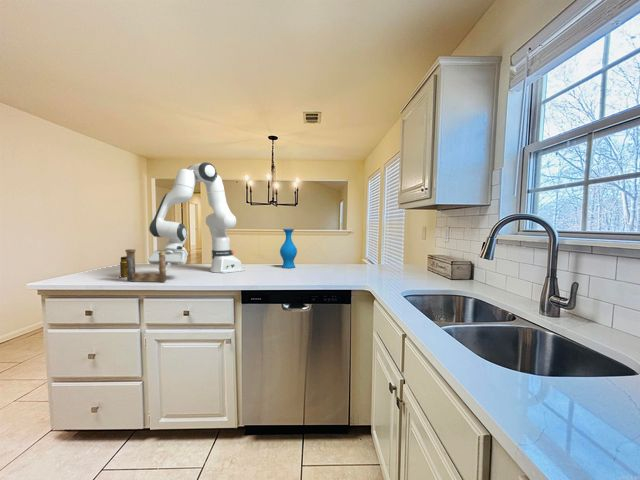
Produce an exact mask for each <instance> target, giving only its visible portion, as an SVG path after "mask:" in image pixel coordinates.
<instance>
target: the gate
mask: <svg viewBox="0 0 640 480" xmlns="http://www.w3.org/2000/svg"><path fill="white" fill-rule="evenodd" d="M166 266H167V265H166V264H165V252H164V251H160V252H159V265H158V270H159V271H158V272H159V273H155V272H154V273H149V272H148V273H146V272H145V273H143V272H142V273H141V272H135V273H134V272H133V257H128V279H129V281H128V282H158V283H159V282H160V283H162V282H163V283H164V282H167V273H166V272H167V271H166Z"/></svg>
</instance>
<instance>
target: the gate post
mask: <svg viewBox="0 0 640 480" xmlns="http://www.w3.org/2000/svg"><path fill="white" fill-rule="evenodd" d="M125 253H126V256H127V278H126V280H127V282H130V281H129V279H128V257H133V272H134V273H136V248H133V249H125Z"/></svg>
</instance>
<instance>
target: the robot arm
mask: <svg viewBox="0 0 640 480" xmlns="http://www.w3.org/2000/svg"><path fill="white" fill-rule="evenodd" d="M196 183H203V184H204V186H205V188H206V196H207V200H208V206H209V207H210V208H212V210H213V213H210V214H208V215H207V216H206V218H205V224H206V226H207V227H208V228H209V232H210V235H211V236H210V237H211V240H212V241H211V246H212V250H211V266H210V270H209V271H210V272H211V273H221V274H226V273H227V274H228V273H235V272H243V271H244V272H245V271H246V268H245V267H244V266H243V265H242V261H241V260H240V259H239V258H238V257H236V256H234V254H235V252H236V251H235V250H231V246H230V245H231V244H230V242H231V241H230V240H231V239H230V237H229V235H228V234H227V230H230V229H233V228H234V227H236V225H237V217H236V216H235V215H234V214H233V213H232V211H231V209H230V207H229V205H228V201H227V197H226V191H225V187H224V182H223V180H222V177H221V176H220V175H219V174H218V173H217V169H216V167H215V165H214V164H212V163H210V162H200V163H199V162H198V163H196V164H193V165H190V166H189V167H187V168H182V169H181V168H180V169H179V171H178V172H177V174H176V176H175V178H174V182H173V186H172V188H171V190H170V191H169V192H167V193H165V194H164V196H163V197H162V199H161V201H160V203H159V205H158V209H157V211H156V213H155V215H154V217H153V219H152V221H151V223H150V224H149V229H148V230H149V232H150V234H151V235H152V236H153V237H155V238H167V239H168V241H167V242H166V244H165V246H164V248H163V249H157V250H155V251H153V252H152V254H151V255H150V256H149V257H148V263H149V264H150V265H155V266H156V265H158V266H159V252H160V251H164V252H165V264H166V272H167V271H168V270H169V268H171V267H172V266H185V264H186V263H187V261H188V255H189V252H188V251H187V249H186V248H185V247H184V246H185V244H186V241H187V239H188V235H189V234H188V233H189V231H188V229H187V228H186V226H185V225H184V224H183V223H182V222H178V221H170V220H169V221H168V220H165V218H166V216H167V214H168V212H169V209H170V208H171V207H172V206H175V205H176V204H184V203H187V202H188V201H190V200H191V199H192V198H193V195H194V190H195V186H196Z"/></svg>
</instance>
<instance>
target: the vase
mask: <svg viewBox="0 0 640 480" xmlns="http://www.w3.org/2000/svg"><path fill="white" fill-rule="evenodd" d="M294 230H295V229H294V228H283V229H282V231H283V232H284V233H285V240H284V243H283V244H282V245H281V246H280V249H279V254H280V257H281V259H282V261H283V264H282V265H281V267H282V268H284V269H291V268H292V269H294V268H295V267H296V265H295V262H294V261H295V258H296V257H297V254H298V248H297V247H296V245H295V244H294V242H293V240H292V234H293V232H294Z"/></svg>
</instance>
